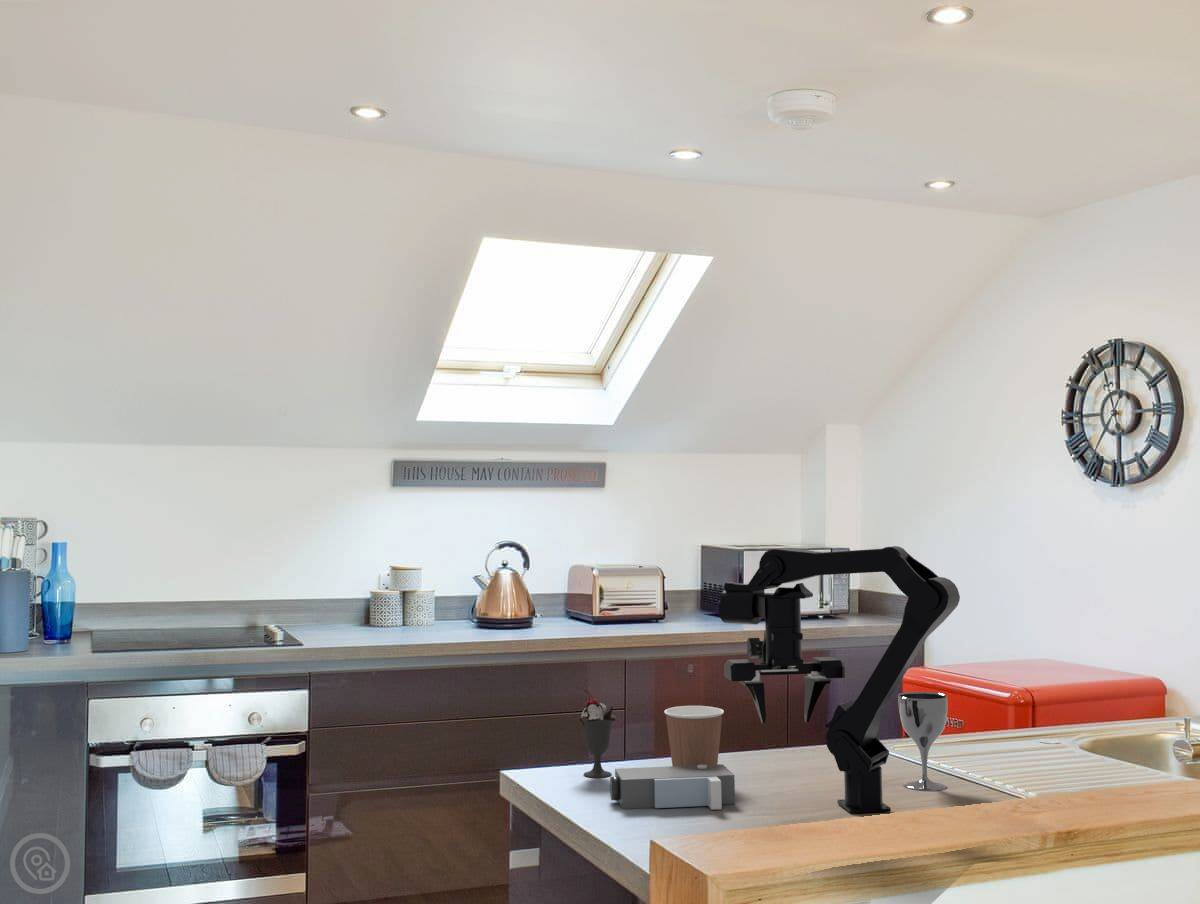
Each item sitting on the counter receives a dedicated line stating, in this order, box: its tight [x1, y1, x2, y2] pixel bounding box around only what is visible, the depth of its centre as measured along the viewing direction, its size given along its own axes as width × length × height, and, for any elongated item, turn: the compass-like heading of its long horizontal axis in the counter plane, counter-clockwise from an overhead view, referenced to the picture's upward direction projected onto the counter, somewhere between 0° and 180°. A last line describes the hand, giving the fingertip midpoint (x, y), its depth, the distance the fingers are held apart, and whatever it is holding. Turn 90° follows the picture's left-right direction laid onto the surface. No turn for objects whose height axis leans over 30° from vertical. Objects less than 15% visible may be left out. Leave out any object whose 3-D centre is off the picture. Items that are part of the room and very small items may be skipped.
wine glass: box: [897, 691, 948, 792], centre depth 194 cm, size 8×8×15 cm
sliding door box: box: [609, 763, 736, 810], centre depth 186 cm, size 8×19×5 cm, turn 97°
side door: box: [654, 776, 723, 810], centre depth 180 cm, size 3×10×4 cm, turn 97°
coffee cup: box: [663, 705, 725, 766], centre depth 200 cm, size 10×10×12 cm
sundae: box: [578, 688, 616, 779], centre depth 205 cm, size 7×7×15 cm
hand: (785, 722), depth 187 cm, fingers open, 7 cm apart
